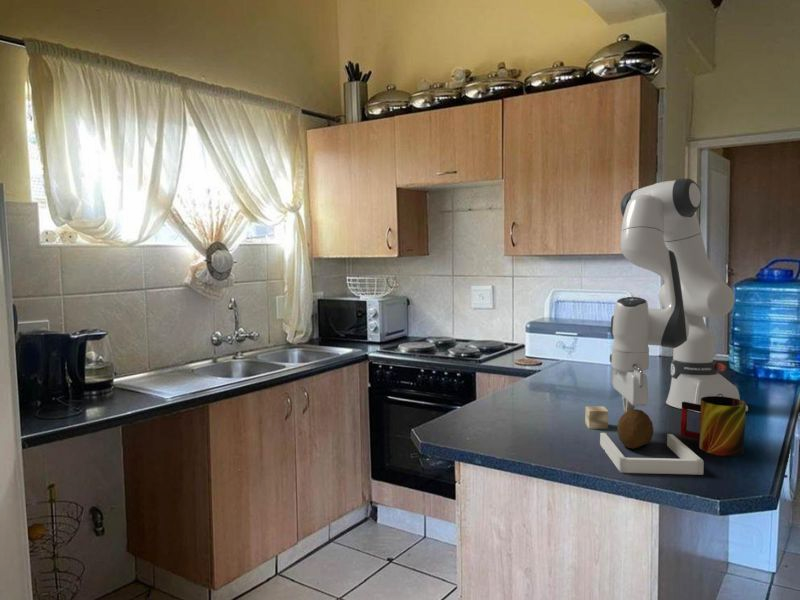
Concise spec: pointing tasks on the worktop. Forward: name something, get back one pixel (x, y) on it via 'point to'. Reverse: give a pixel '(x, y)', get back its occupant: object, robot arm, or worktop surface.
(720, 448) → the mug
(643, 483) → the worktop surface
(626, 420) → the potato
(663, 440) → the worktop surface
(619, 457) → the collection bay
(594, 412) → the beech block
